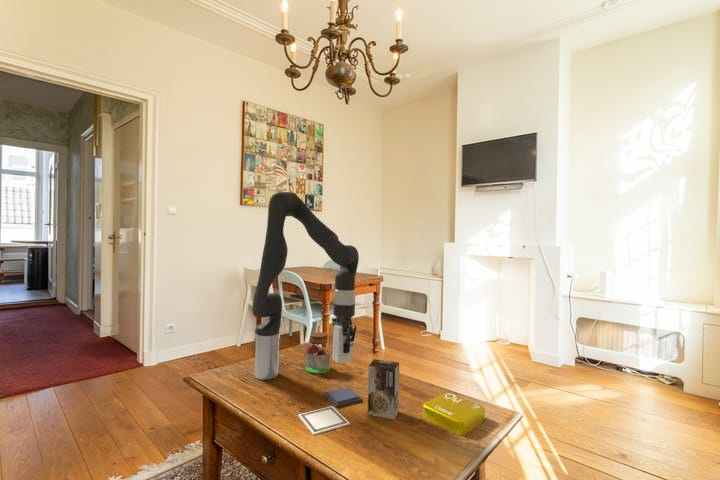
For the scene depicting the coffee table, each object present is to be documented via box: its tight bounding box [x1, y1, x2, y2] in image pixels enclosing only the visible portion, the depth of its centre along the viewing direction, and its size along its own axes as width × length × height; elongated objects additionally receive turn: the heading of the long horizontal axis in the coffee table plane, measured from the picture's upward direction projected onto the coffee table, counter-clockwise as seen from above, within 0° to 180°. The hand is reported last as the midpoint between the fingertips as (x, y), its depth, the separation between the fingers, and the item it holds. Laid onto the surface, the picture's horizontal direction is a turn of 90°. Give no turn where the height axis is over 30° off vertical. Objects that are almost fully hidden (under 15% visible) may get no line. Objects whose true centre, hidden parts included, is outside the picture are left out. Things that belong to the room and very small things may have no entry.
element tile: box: [422, 392, 486, 436], centre depth 109 cm, size 15×15×5 cm
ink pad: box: [323, 387, 363, 409], centre depth 120 cm, size 10×10×2 cm
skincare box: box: [331, 325, 354, 364], centre depth 120 cm, size 6×4×12 cm
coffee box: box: [367, 358, 400, 420], centre depth 111 cm, size 9×6×16 cm
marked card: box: [297, 405, 351, 436], centre depth 106 cm, size 12×12×1 cm
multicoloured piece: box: [303, 331, 331, 375], centre depth 147 cm, size 12×13×15 cm
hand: (342, 350), depth 120 cm, fingers closed on skincare box, 4 cm apart
